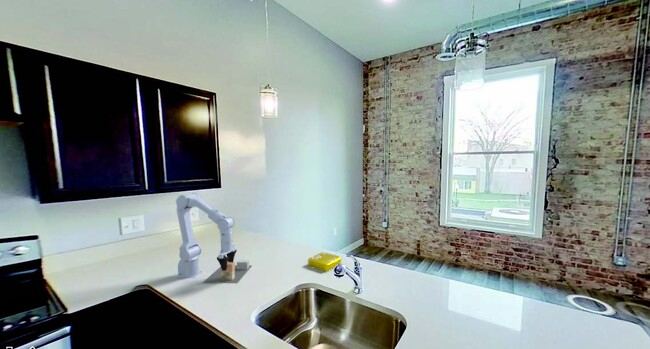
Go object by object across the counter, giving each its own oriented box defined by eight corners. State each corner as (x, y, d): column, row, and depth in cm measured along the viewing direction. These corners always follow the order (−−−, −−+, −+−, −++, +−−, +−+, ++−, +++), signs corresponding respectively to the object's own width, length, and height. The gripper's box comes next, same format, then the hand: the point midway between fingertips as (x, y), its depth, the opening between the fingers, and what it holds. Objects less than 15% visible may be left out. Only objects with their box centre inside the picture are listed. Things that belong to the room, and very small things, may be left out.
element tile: (326, 273, 140) (326, 264, 140) (306, 266, 150) (306, 258, 149) (342, 264, 152) (342, 256, 152) (322, 258, 161) (322, 250, 161)
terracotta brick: (220, 272, 132) (220, 264, 131) (223, 269, 135) (223, 262, 134) (232, 272, 131) (232, 264, 131) (234, 269, 134) (234, 262, 134)
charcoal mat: (202, 283, 129) (202, 282, 129) (222, 265, 151) (222, 265, 151) (237, 284, 128) (237, 283, 128) (252, 266, 150) (252, 265, 150)
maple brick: (220, 279, 132) (220, 272, 132) (223, 277, 135) (223, 269, 135) (232, 279, 131) (232, 272, 131) (234, 277, 134) (234, 269, 134)
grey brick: (236, 269, 145) (236, 262, 144) (239, 267, 148) (238, 260, 147) (247, 269, 144) (247, 262, 144) (249, 267, 147) (249, 260, 147)
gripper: (228, 245, 125) (228, 273, 125) (239, 237, 139) (240, 261, 140) (213, 245, 125) (214, 273, 126) (227, 237, 140) (227, 261, 140)
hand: (227, 267), depth 133 cm, fingers open, 7 cm apart
